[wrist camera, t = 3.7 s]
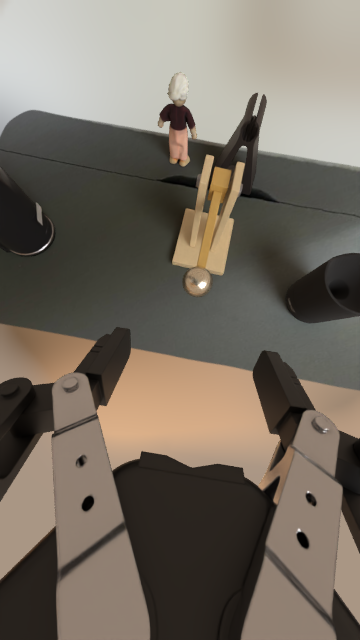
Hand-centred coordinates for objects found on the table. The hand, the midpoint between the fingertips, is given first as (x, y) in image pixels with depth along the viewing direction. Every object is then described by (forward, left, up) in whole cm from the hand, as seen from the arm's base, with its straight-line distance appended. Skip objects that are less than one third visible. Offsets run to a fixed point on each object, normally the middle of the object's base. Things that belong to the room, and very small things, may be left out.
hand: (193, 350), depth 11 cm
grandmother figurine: (+8, +41, -23) cm, 48 cm away
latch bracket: (+9, +20, -22) cm, 32 cm away
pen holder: (+26, +4, -23) cm, 35 cm away
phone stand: (+19, +34, -23) cm, 45 cm away
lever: (+6, +14, -11) cm, 19 cm away
